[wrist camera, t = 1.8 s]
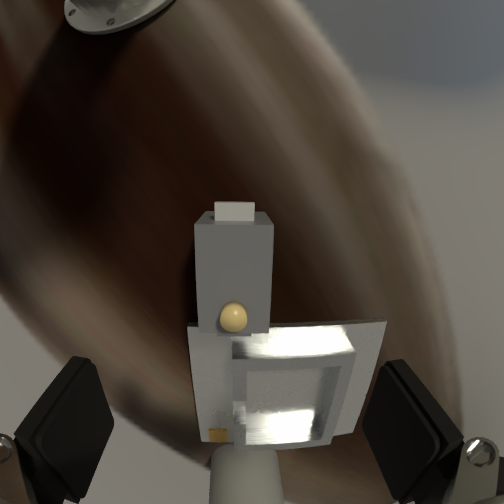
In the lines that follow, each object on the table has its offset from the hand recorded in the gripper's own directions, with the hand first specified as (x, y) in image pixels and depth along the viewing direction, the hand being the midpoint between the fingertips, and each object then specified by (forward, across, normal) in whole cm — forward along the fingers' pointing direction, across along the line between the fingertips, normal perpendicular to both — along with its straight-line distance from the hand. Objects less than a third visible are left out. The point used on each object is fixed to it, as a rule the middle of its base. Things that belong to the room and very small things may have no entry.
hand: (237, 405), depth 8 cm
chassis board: (+16, -5, +13) cm, 21 cm away
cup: (+16, -1, +26) cm, 31 cm away
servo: (+16, 0, -1) cm, 16 cm away
